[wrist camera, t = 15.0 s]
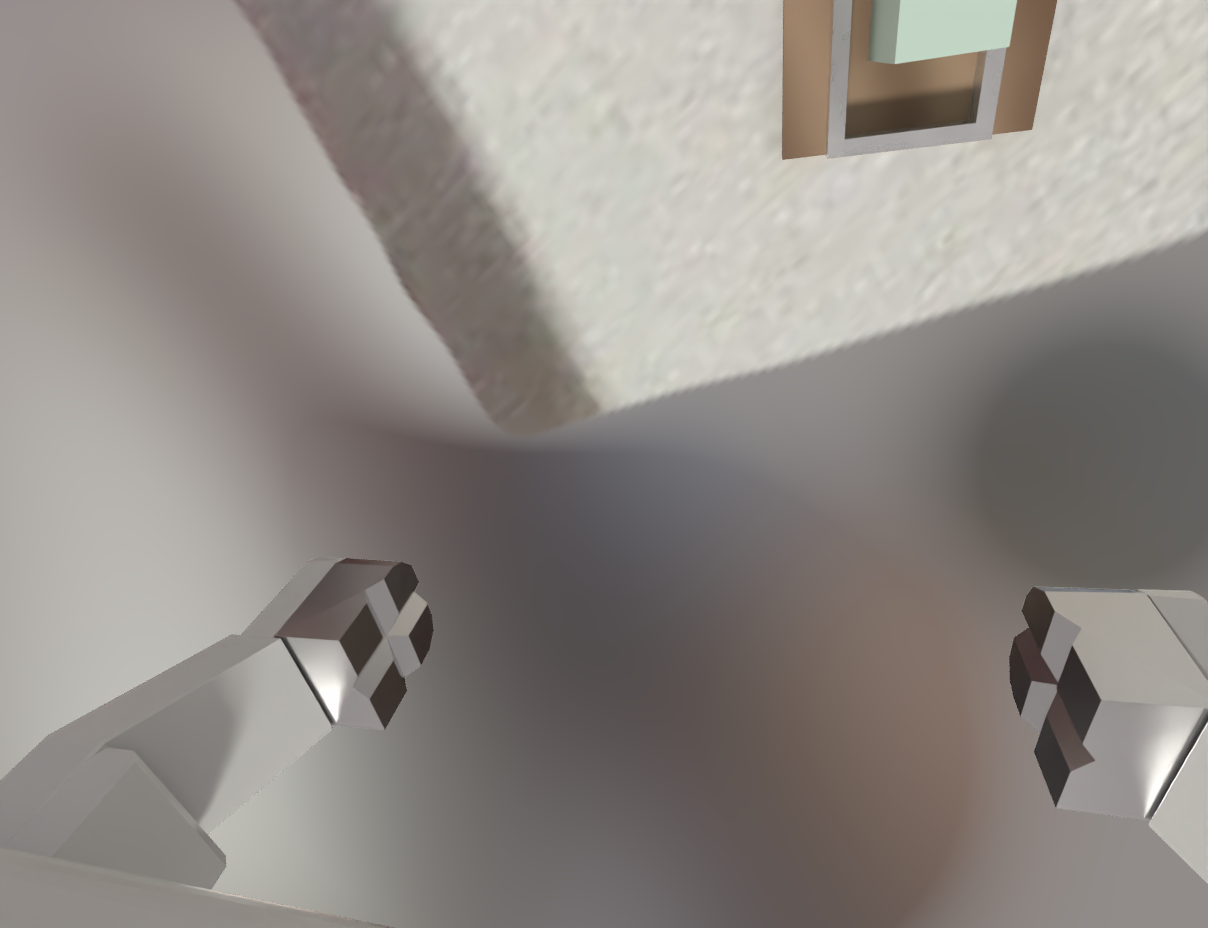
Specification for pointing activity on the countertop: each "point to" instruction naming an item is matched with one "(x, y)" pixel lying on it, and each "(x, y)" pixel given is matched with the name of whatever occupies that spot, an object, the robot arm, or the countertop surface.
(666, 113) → the countertop surface
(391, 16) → the countertop surface
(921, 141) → the track rails
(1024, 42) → the track board
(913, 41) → the mint green rectangular block
